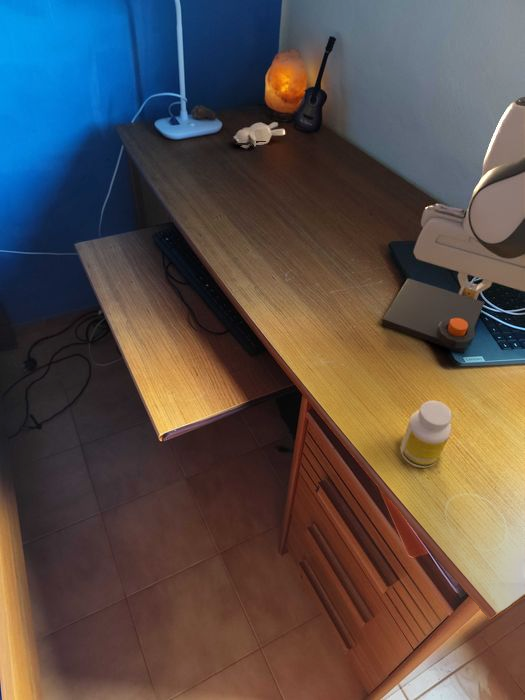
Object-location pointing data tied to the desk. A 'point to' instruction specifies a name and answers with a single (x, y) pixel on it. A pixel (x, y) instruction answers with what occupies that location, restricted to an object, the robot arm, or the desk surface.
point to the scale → (433, 314)
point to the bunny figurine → (257, 134)
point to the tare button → (457, 327)
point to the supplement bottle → (426, 434)
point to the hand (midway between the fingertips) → (468, 294)
